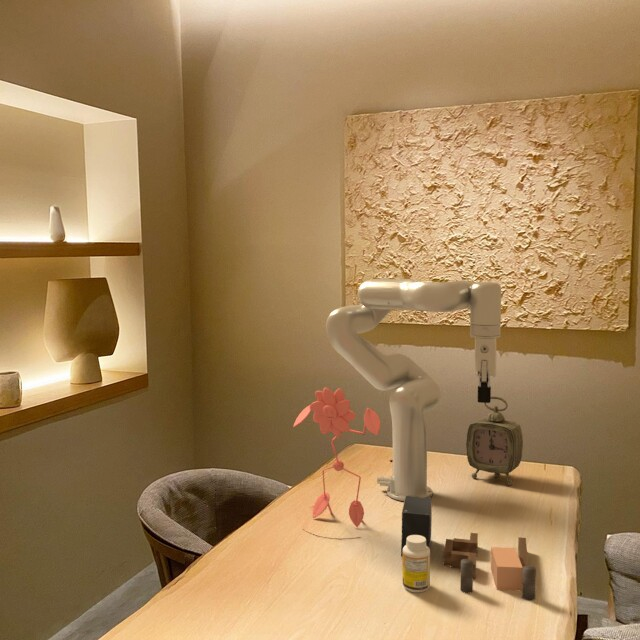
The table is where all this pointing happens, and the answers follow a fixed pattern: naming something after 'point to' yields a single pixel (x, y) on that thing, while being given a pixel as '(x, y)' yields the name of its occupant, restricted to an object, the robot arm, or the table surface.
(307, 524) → the table surface
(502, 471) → the tabletop clock
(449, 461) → the table surface
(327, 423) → the figurine
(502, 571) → the block
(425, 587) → the supplement bottle
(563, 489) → the table surface
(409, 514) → the small box
